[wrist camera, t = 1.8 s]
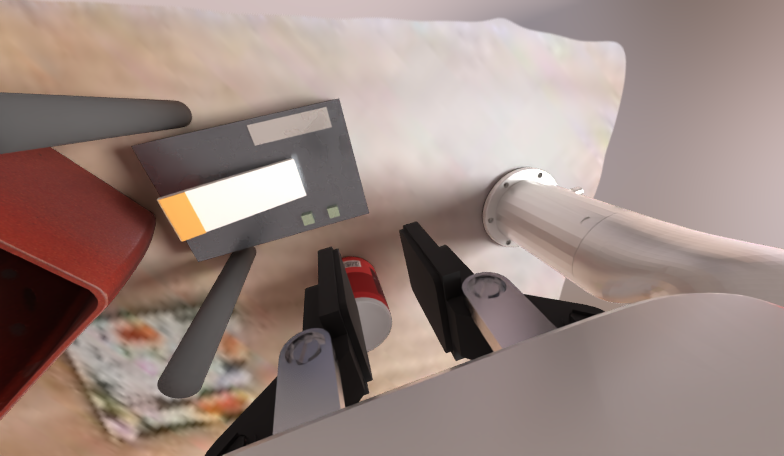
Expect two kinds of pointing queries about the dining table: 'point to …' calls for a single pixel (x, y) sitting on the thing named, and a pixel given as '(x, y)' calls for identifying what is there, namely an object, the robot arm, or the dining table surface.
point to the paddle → (231, 198)
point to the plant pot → (58, 259)
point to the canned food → (369, 301)
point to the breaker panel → (257, 149)
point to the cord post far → (206, 330)
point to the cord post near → (81, 119)
